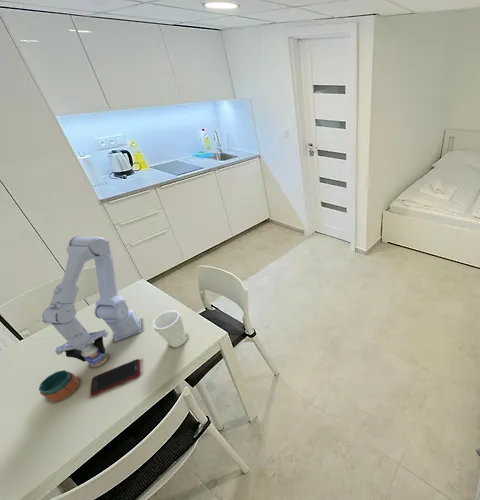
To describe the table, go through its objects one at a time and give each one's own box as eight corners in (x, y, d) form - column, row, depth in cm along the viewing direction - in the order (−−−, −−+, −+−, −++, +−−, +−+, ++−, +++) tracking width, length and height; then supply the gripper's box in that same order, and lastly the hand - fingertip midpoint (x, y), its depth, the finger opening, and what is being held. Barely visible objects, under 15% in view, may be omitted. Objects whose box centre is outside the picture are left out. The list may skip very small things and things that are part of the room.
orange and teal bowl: (80, 373, 106) (71, 364, 103) (77, 393, 100) (68, 384, 97) (50, 385, 102) (40, 377, 99) (45, 407, 96) (34, 398, 93)
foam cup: (160, 346, 116) (146, 324, 108) (179, 329, 123) (167, 307, 115) (177, 353, 113) (164, 331, 105) (195, 335, 120) (184, 314, 112)
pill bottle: (98, 368, 108) (84, 352, 102) (87, 365, 109) (72, 350, 103) (111, 355, 112) (98, 340, 107) (99, 353, 113) (86, 337, 108)
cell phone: (93, 378, 104) (92, 377, 104) (140, 359, 110) (139, 358, 110) (91, 396, 99) (89, 395, 98) (140, 375, 105) (139, 373, 104)
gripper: (45, 350, 95) (69, 373, 103) (98, 330, 101) (117, 353, 109) (48, 335, 100) (71, 359, 107) (99, 317, 106) (117, 341, 114)
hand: (94, 355), depth 109 cm, fingers closed on pill bottle, 5 cm apart
